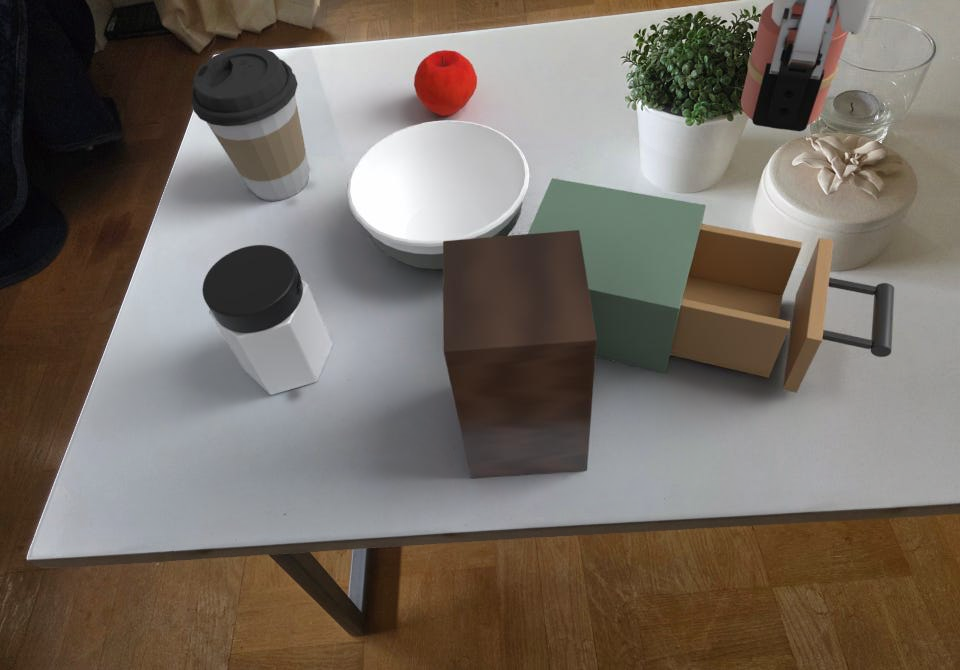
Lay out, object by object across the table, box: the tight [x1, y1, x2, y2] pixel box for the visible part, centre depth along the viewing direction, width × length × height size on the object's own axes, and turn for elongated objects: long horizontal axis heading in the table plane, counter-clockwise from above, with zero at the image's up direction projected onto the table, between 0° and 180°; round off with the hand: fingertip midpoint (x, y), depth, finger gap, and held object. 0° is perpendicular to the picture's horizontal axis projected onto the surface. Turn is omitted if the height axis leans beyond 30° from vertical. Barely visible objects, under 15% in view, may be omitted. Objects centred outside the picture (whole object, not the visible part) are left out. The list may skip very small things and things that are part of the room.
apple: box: [413, 49, 478, 117], centre depth 91 cm, size 8×8×7 cm
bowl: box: [346, 119, 530, 270], centre depth 77 cm, size 19×19×8 cm
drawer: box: [670, 223, 895, 393], centre depth 65 cm, size 19×11×8 cm, turn 70°
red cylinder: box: [740, 2, 850, 130], centre depth 45 cm, size 5×5×6 cm
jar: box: [201, 244, 334, 396], centre depth 67 cm, size 9×8×12 cm
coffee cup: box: [190, 46, 310, 202], centre depth 82 cm, size 11×11×15 cm
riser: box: [442, 230, 597, 479], centre depth 58 cm, size 10×10×19 cm
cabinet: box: [527, 177, 707, 374], centre depth 69 cm, size 15×13×10 cm
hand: (784, 94), depth 47 cm, fingers closed on red cylinder, 5 cm apart
